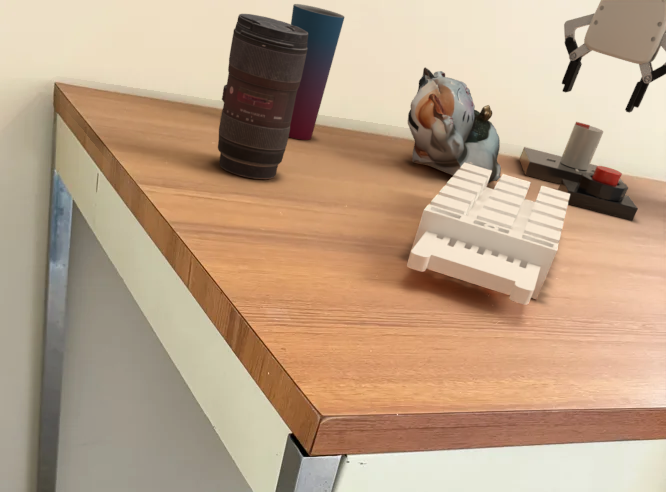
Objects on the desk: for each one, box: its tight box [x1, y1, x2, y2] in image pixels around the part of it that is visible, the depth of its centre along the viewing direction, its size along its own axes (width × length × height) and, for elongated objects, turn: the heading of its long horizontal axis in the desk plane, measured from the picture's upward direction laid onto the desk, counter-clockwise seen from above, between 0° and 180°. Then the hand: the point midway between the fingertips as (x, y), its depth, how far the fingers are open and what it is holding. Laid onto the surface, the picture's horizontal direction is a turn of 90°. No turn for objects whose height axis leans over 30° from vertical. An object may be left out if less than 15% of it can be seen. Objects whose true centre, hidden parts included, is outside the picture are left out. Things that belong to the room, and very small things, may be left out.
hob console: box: [519, 146, 625, 185], centre depth 129 cm, size 15×11×2 cm
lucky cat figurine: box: [407, 67, 502, 186], centre depth 112 cm, size 15×12×14 cm
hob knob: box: [560, 121, 604, 170], centre depth 126 cm, size 4×4×6 cm
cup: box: [288, 3, 345, 141], centre depth 111 cm, size 7×7×15 cm
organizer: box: [406, 162, 570, 306], centre depth 87 cm, size 13×5×35 cm
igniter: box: [557, 172, 639, 222], centre depth 117 cm, size 10×7×4 cm
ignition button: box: [592, 165, 623, 185], centre depth 116 cm, size 4×4×2 cm
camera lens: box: [217, 13, 308, 180], centre depth 91 cm, size 8×8×15 cm
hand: (597, 101), depth 123 cm, fingers open, 9 cm apart
